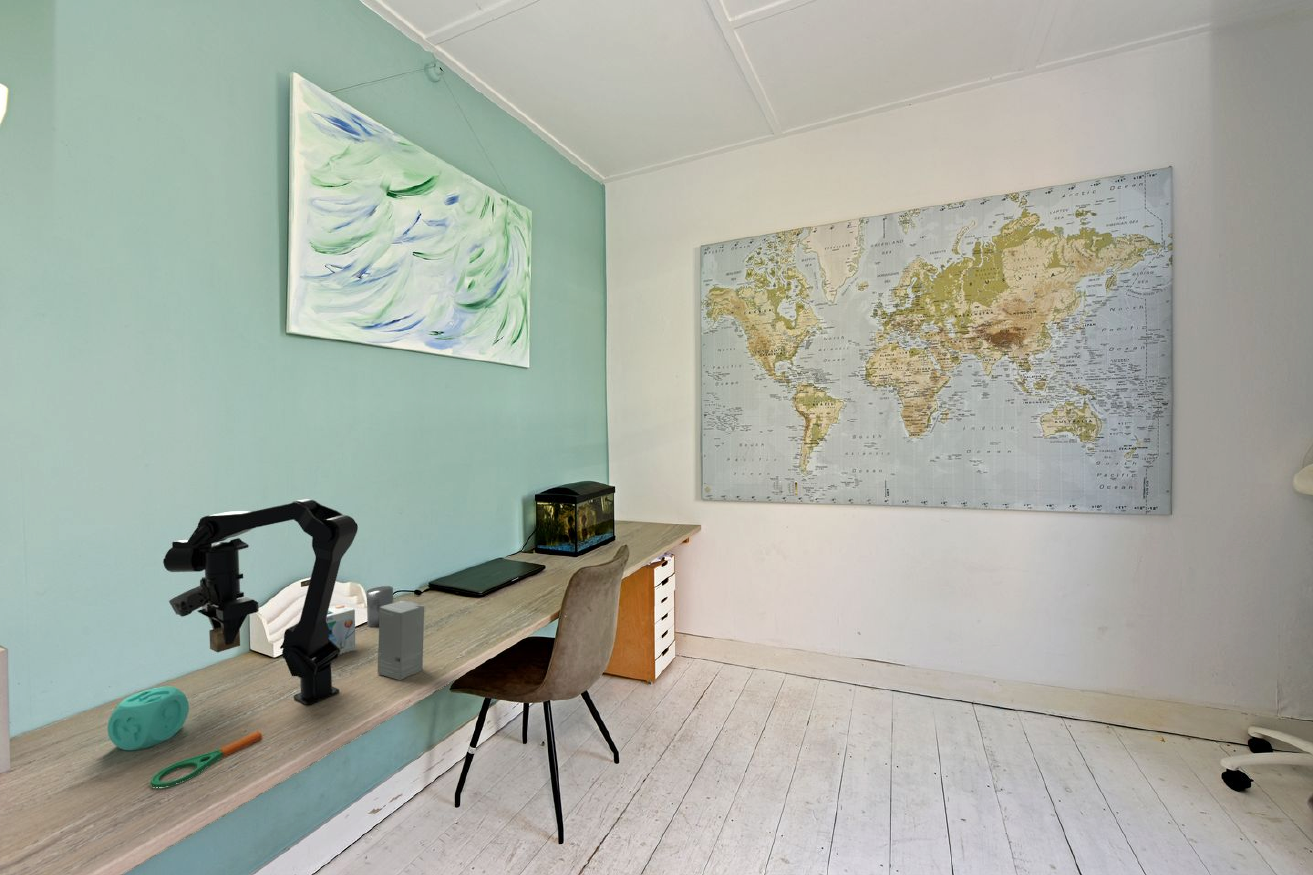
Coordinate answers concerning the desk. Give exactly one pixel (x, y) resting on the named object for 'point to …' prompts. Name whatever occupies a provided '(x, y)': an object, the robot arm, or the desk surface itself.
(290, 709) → the desk surface
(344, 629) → the light bulb box
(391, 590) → the grey rounded block
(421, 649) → the skincare box
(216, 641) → the walnut cube
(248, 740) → the magnifying glass
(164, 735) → the decorative dice
